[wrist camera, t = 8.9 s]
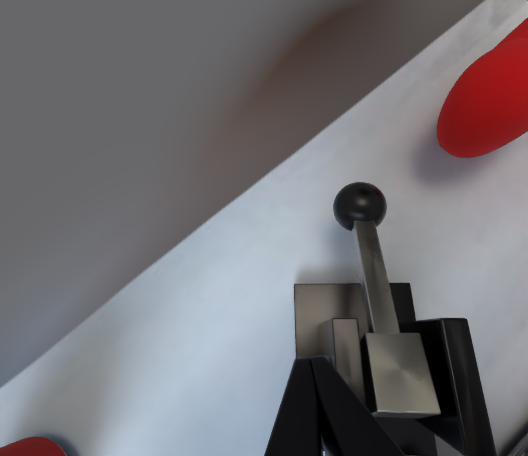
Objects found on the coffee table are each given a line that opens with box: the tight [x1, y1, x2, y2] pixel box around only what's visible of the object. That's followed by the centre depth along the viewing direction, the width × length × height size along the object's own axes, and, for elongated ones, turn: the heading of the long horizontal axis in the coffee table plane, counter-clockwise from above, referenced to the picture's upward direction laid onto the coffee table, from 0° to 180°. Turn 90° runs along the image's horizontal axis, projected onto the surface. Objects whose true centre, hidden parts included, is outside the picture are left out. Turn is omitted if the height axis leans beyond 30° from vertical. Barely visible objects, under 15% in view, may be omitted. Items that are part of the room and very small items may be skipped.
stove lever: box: [333, 182, 441, 418], centre depth 15 cm, size 12×3×3 cm, turn 0°
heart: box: [437, 18, 528, 158], centre depth 20 cm, size 12×5×10 cm, turn 130°
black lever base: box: [294, 283, 497, 456], centre depth 15 cm, size 10×8×10 cm
